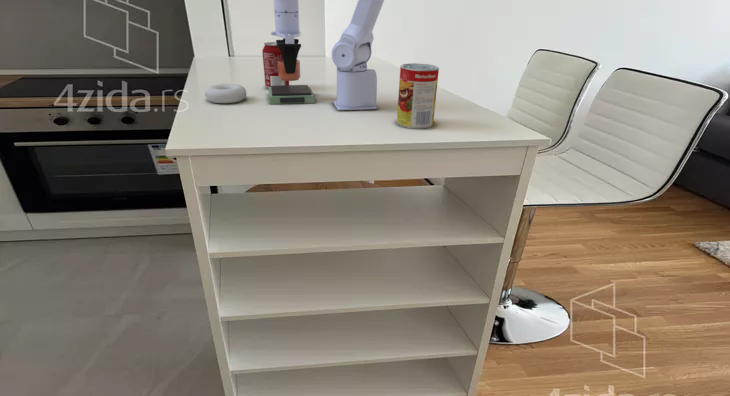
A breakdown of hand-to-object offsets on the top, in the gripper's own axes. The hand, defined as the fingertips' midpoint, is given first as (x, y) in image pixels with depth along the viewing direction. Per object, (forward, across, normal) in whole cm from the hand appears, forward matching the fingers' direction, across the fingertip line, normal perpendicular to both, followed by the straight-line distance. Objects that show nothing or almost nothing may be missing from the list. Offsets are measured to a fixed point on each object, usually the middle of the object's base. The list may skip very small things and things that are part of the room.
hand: (289, 71), depth 107 cm
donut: (+7, 0, -16) cm, 18 cm away
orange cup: (+2, 0, 0) cm, 2 cm away
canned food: (+7, +26, +25) cm, 37 cm away
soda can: (+7, -13, -3) cm, 15 cm away
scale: (+7, 0, 0) cm, 7 cm away
